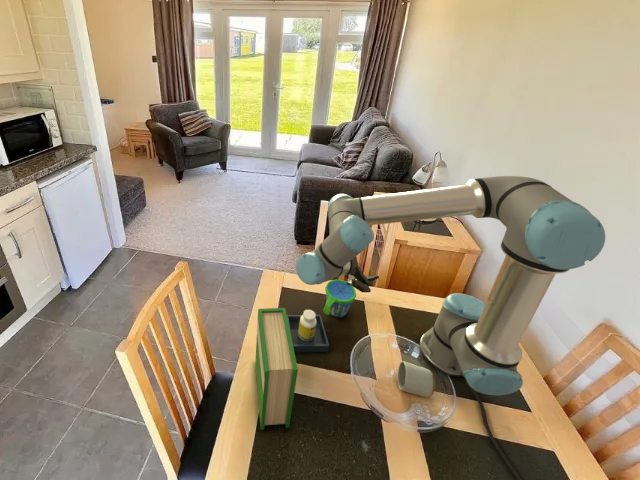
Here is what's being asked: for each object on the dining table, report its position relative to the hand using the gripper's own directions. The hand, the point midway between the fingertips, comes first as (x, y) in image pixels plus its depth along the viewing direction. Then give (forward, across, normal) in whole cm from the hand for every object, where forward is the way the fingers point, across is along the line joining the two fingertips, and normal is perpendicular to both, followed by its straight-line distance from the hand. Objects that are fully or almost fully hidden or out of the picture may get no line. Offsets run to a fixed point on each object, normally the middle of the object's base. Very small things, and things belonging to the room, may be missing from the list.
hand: (370, 255), depth 100 cm
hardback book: (-28, +34, -24) cm, 51 cm away
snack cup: (+8, +20, -21) cm, 30 cm away
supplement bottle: (-8, +24, -24) cm, 35 cm away
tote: (-8, +24, -24) cm, 35 cm away
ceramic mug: (+3, +38, +4) cm, 38 cm away
